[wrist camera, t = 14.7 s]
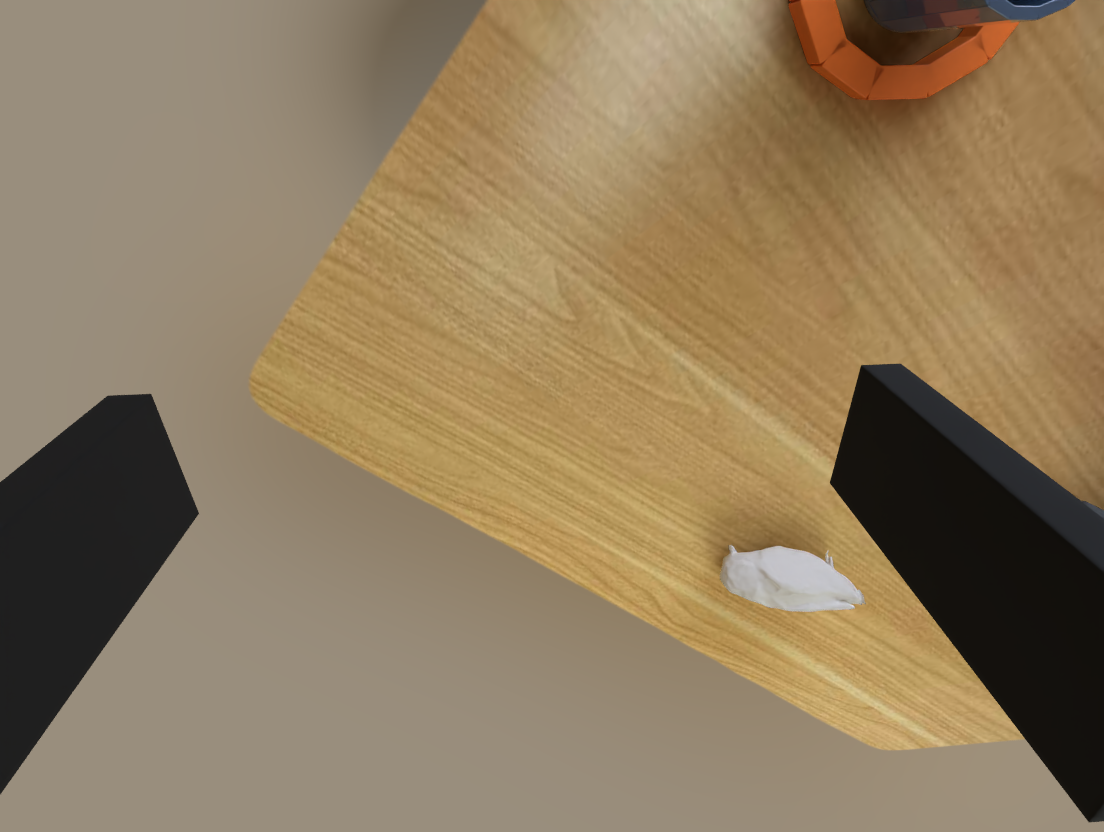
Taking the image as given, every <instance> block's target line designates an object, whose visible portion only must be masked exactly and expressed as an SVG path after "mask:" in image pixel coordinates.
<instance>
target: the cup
mask: <svg viewBox="0 0 1104 832" xmlns="http://www.w3.org/2000/svg"><path fill="white" fill-rule="evenodd" d="M1074 1H1075V0H864V2H865V5H866V7H867V9H868V12H869V13H870V15H871V16H872V18H873V19H874V20H875V21H876V22H877V23H878V24H879V25H881V26H882V27H884V28H886V29H888V30H890V31H894V32H900V33H908V32H927V31H936V30H946V29H956V28H966V27H975V26H985V25H995V24H1005V23H1014V22H1024V21H1034V20H1038V19H1041V18H1043V17H1045V16H1048V15H1050V14H1053V13H1055V12H1057V11H1060V10H1062V9H1064V8H1066V7H1067V6H1069V5H1071V4H1072V3H1073V2H1074Z"/></svg>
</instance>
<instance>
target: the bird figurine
mask: <svg viewBox="0 0 1104 832" xmlns="http://www.w3.org/2000/svg"><path fill="white" fill-rule="evenodd" d="M728 547H729V550H730V553H729V554H728V555H727V556H725V557H724V558H723V564H722V567H721V572H720V580H721V582H722V583H723V584H724V586H725V587H726V588H727V589H728V591H730V592H731V593H733V594H736V595H739V596H741V597H743V598H745V599H747V600H750V601H753V602H757V603H760V604H762V605H765V606H766V607H769V608H778V609H782V610H786V611H804V612H814V611H820V610H844V609H849V610H850V609H854V608H855V607H854V606H853V605H851V604H860V605H862V603H864V604H866V603H865V601H864V596H863V594H862V593H861V592H860V590H857V589H856V588H855V586H854V584H853V583H851V581H850V580H849V579H848V578H847V577H845V576H844V575H842V574H841V573H839V572H837V571H836V570H835V569H834V566H833V560H832V557H831V556H830V557H828V551H827V553H826V554H825V561H826V562H825V561H823V560H822V559H820V558H819V557H817V556H815V555H813V554H811V553H809V552H806V551H801V550H795V549H790V548H785V547H782V546H774V547H770V548H765V549H763V550H756V551H752V552H740V553H738V552H737V551H736V550H735V548H734V547H733V546H732V545H728Z"/></svg>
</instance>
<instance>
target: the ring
mask: <svg viewBox="0 0 1104 832" xmlns="http://www.w3.org/2000/svg"><path fill="white" fill-rule="evenodd" d="M788 1H789V2H791V3H789V9H790V12H791V15H792V18H793V21H794V24H795V27H796V30H797V33H798V36H799V39H800V42H801V45H802V48H803V51H804V54H805V57H806V60H807V63H808V64H811V65H810V67H811V68H812V69H813V70H815V71H816V72H817V73H819V74H820V75H821V76H823V77H824V78H826V79H827V80H828V81H830V82H831V83H832V84H834V85H835V86H837V87H838V88H839V89H841V90H842V91H843V92H845V93H846V94H847V95H849V96H850V97H852V98H855V99H862V100H887V99H924V98H926V97H930V96H931V95H933V94H935V93H937V92H938V91H940V90H942V89H943V88H945V87H947V86H948V85H950V84H952V83H953V82H955V81H957V80H959V79H960V78H962V77H964V76H965V75H967V74H969V73H970V72H972V71H974V70H975V69H977V68H979V67H981V66H982V65H984V64H986V63H987V62H988V60H990V59H992V57H993V56H994V55H995V53H996V52H997V51H998V50H999V48H1000V47H1001V46H1002V44H1003V43H1004V42H1005V41H1006V39H1007V38H1008V37H1009V35H1010V34H1011V33H1012V31H1013V30H1014V29H1015V28H1016V26H1017V25H1018V24H1019V22H1014V23H1005V24H995V25H985V26H975V27H966V28H964V29H963V30H962V32H961V33H960V34H959V36H958V37H957V38H956V39H954V40H952V41H951V42H949V43H947V44H946V45H944V46H942V47H941V48H939V49H937V50H936V51H934V52H932V53H931V54H929V55H927V56H926V57H924V58H923V59H921V60H919V61H918V62H916V63H914V64H913V65H882V66H881V65H880V64H879V63H877V62H876V61H875V60H873V59H872V58H871V57H869V56H868V55H867V54H865V53H864V52H863V51H862V50H860V49H859V48H858V47H856V46H855V45H854V44H852V43H851V42H850V41H849V40H847V38H846V35H845V32H844V28H843V25H842V22H841V18H840V15H839V11H838V8H837V5H836V1H835V0H788Z"/></svg>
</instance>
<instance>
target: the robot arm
mask: <svg viewBox="0 0 1104 832" xmlns="http://www.w3.org/2000/svg"><path fill="white" fill-rule="evenodd" d="M830 484H831V485H832V486H833V488H834V489H835V490H836V492H837V493H838V494H839V496H840V497H841V498H842V500H843V501H844V502H845V503H846V505H847V506H848V507H849V509H850V510H851V511H852V513H853V514H854V515H855V517H856V518H857V519H858V520H859V522H860V523H861V524H862V526H863V527H864V528H865V530H866V531H867V532H868V534H869V535H870V536H871V538H872V539H873V540H874V541H875V543H876V544H877V545H878V547H879V548H880V549H881V551H882V552H883V553H884V555H885V556H886V557H887V558H888V560H889V561H890V562H891V564H892V565H893V566H894V568H895V569H896V570H897V572H898V573H899V574H900V575H901V577H902V578H903V579H904V581H905V582H906V583H907V585H908V586H909V587H910V589H911V590H912V591H913V593H914V594H915V595H916V596H917V598H918V599H919V600H920V602H921V603H922V604H923V606H924V607H925V608H926V610H927V611H928V612H929V613H930V615H931V616H932V617H933V619H934V620H935V621H936V623H937V624H938V625H939V627H940V628H941V629H942V630H943V632H944V633H945V634H946V636H947V637H948V638H949V640H950V641H951V642H952V644H953V645H954V646H955V647H956V649H957V650H958V651H959V653H960V654H961V655H962V657H963V658H964V659H965V661H966V662H967V663H968V665H969V666H970V667H971V668H972V670H973V671H974V672H975V674H976V675H977V676H978V678H979V679H980V680H981V682H982V683H983V684H984V685H985V687H986V688H987V689H988V691H989V692H990V693H991V695H992V696H993V697H994V699H995V700H996V701H997V702H998V704H999V705H1000V706H1001V708H1002V709H1003V710H1004V712H1005V713H1006V714H1007V716H1008V717H1009V718H1010V719H1011V721H1012V722H1013V723H1014V725H1015V726H1016V727H1017V729H1018V730H1019V731H1020V733H1021V734H1022V735H1023V737H1024V738H1025V739H1026V740H1027V742H1028V743H1029V744H1030V746H1031V747H1032V748H1033V750H1034V751H1035V752H1036V753H1037V755H1038V756H1039V757H1040V759H1041V760H1042V761H1043V763H1044V764H1045V765H1046V767H1047V768H1048V769H1049V770H1050V772H1051V773H1052V774H1053V776H1054V777H1055V778H1056V780H1057V781H1058V782H1059V784H1060V785H1061V786H1062V788H1063V789H1064V790H1065V791H1066V793H1067V794H1068V795H1069V797H1070V798H1071V799H1072V801H1073V802H1074V803H1075V804H1076V806H1077V807H1078V808H1079V810H1080V811H1081V812H1082V814H1083V815H1084V816H1085V818H1086V819H1087V820H1088V821H1089V822H1099V821H1104V510H1102V509H1100V508H1098V507H1096V506H1094V505H1092V504H1090V503H1088V502H1086V501H1080V500H1079V499H1078V498H1076V497H1075V496H1074V495H1072V494H1071V493H1070V492H1068V491H1067V490H1066V489H1064V488H1063V487H1062V486H1060V485H1059V484H1058V483H1057V482H1055V481H1054V480H1053V479H1051V478H1050V477H1049V476H1047V475H1046V474H1045V473H1043V472H1042V471H1041V470H1039V469H1038V468H1037V467H1036V466H1034V465H1033V464H1032V463H1030V462H1029V461H1028V460H1026V459H1025V458H1024V457H1022V456H1021V455H1020V454H1018V453H1017V452H1016V451H1015V450H1013V449H1012V448H1011V447H1009V446H1008V445H1007V444H1005V443H1004V442H1003V441H1001V440H1000V439H999V438H997V437H996V436H995V435H994V434H992V433H991V432H990V431H988V430H987V429H986V428H984V427H983V426H982V425H980V424H979V423H978V422H976V421H975V420H974V419H973V418H971V417H970V416H969V415H967V414H966V413H965V412H963V411H962V410H961V409H959V408H958V407H957V406H955V405H954V404H953V403H952V402H950V401H949V400H948V399H946V398H945V397H944V396H942V395H941V394H940V393H938V392H937V391H936V390H934V389H933V388H932V387H931V386H929V385H928V384H927V383H925V382H924V381H923V380H921V379H920V378H919V377H917V376H916V375H915V374H913V373H912V372H911V371H910V370H908V369H907V368H906V367H904V366H903V365H902V364H882V365H861V368H860V372H859V376H858V379H857V383H856V387H855V391H854V394H853V398H852V402H851V406H850V409H849V413H848V417H847V421H846V424H845V428H844V432H843V436H842V439H841V443H840V447H839V451H838V454H837V458H836V462H835V466H834V469H833V473H832V477H831V481H830ZM198 514H199V513H198V510H197V507H196V505H195V502H194V500H193V497H192V495H191V492H190V490H189V487H188V485H187V483H186V480H185V477H184V475H183V472H182V470H181V468H180V465H179V462H178V460H177V457H176V455H175V452H174V450H173V447H172V445H171V443H170V440H169V438H168V435H167V432H166V430H165V428H164V426H163V423H162V420H161V417H160V415H159V413H158V410H157V407H156V405H155V402H154V400H153V397H152V395H151V394H142V395H140V394H139V395H117V396H116V395H115V396H107V397H106V398H104V399H103V400H102V401H101V402H99V403H98V404H97V405H96V406H94V407H93V408H92V409H91V410H89V411H88V412H87V413H86V414H84V415H83V416H82V417H81V418H79V419H78V420H77V421H76V422H75V423H73V424H72V425H71V426H70V427H68V428H67V429H66V430H65V431H63V432H62V433H61V434H60V435H58V436H57V437H56V438H55V439H53V440H52V441H51V442H50V443H48V444H47V445H46V446H45V447H43V448H42V449H41V450H40V451H39V452H38V453H36V454H35V455H34V456H33V457H31V458H30V459H29V460H27V461H26V462H25V463H24V464H23V465H21V466H20V467H19V468H17V469H16V470H15V471H14V472H12V473H11V474H10V475H9V476H8V477H6V478H5V479H4V480H3V481H1V482H0V794H1V793H2V791H3V790H4V788H5V787H6V786H7V784H8V783H9V781H10V780H11V779H12V777H13V776H14V774H15V773H16V771H17V770H18V769H19V767H20V766H21V764H22V763H23V761H24V760H25V759H26V757H27V756H28V755H29V753H30V752H31V750H32V749H33V747H34V746H35V745H36V743H37V742H38V740H39V739H40V738H41V736H42V735H43V733H44V732H45V730H46V729H47V728H48V726H49V725H50V723H51V722H52V721H53V719H54V718H55V716H56V715H57V713H58V712H59V711H60V709H61V708H62V706H63V705H64V704H65V702H66V701H67V699H68V698H69V696H70V695H71V694H72V692H73V691H74V689H75V688H76V687H77V685H78V684H79V682H80V681H81V680H82V678H83V677H84V675H85V674H86V672H87V671H88V670H89V668H90V667H91V665H92V664H93V663H94V661H95V660H96V658H97V657H98V655H99V654H100V653H101V651H102V650H103V648H104V647H105V645H106V644H107V643H108V641H109V640H110V638H111V637H112V636H113V634H114V633H115V631H116V630H117V628H118V627H119V625H120V624H121V623H122V622H123V620H124V619H125V617H126V616H127V614H128V613H129V612H130V610H131V609H132V607H133V606H134V604H135V603H136V602H137V600H138V599H139V597H140V596H141V595H142V593H143V592H144V590H145V589H146V588H147V586H148V585H149V583H150V582H151V581H152V579H153V578H154V576H155V575H156V573H157V572H158V571H159V569H160V568H161V566H162V565H163V564H164V562H165V561H166V559H167V558H168V556H169V555H170V554H171V552H172V551H173V549H174V548H175V547H176V545H177V544H178V542H179V541H180V539H181V538H182V537H183V535H184V534H185V532H186V531H187V529H188V528H189V526H190V525H191V524H192V522H193V521H194V520H195V518H196V517H197V515H198Z"/></svg>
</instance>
